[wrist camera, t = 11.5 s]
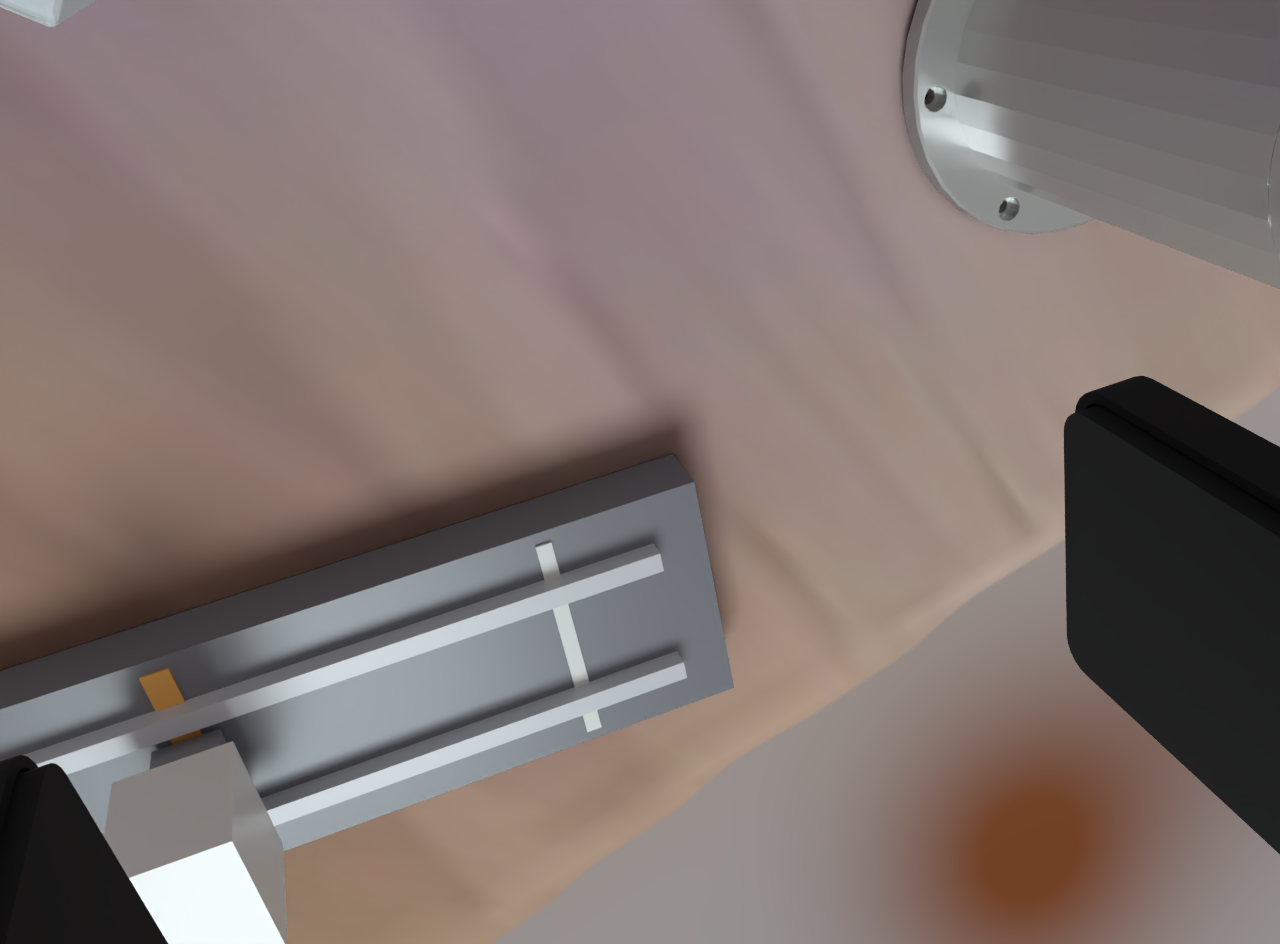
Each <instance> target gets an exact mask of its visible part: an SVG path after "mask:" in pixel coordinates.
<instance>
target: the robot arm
mask: <svg viewBox="0 0 1280 944" xmlns="http://www.w3.org/2000/svg"><path fill="white" fill-rule="evenodd" d="M902 79H903V109H904V114H905V119H906V124H907V128H908V133H909V138H910V142H911V144H912V146H913V149H914V151H915V153H916V156H917V158H918V161H919V163H920V165H921V168H922V169H923V171H924V172H925V174H926V175H927V177H928V178H929V179H930V181H931V182H932V184H933V185H934V187H935V188H936V189H937V191H938V192H939V193H940V194H941V195H942V196H943V197H945V198H946V199H947V200H948V201H949V202H950V203H951V204H952V205H954V206H955V207H956V208H957V209H958V210H960V211H962V212H964V213H966V214H967V215H969V216H971V217H973V218H975V219H977V220H979V221H981V222H983V223H985V224H988V225H990V226H993V227H995V228H998V229H1001V230H1004V231H1011V232H1019V233H1026V234H1038V233H1048V232H1058V231H1062V230H1065V229H1068V228H1071V227H1075V226H1078V225H1081V224H1084V223H1087V222H1089V221H1091V220H1093V219H1098V220H1100V221H1103V222H1106V223H1108V224H1111V225H1113V226H1116V227H1119V228H1121V229H1124V230H1127V231H1129V232H1132V233H1134V234H1137V235H1140V236H1142V237H1145V238H1147V239H1150V240H1153V241H1155V242H1158V243H1161V244H1163V245H1166V246H1168V247H1171V248H1174V249H1176V250H1179V251H1181V252H1184V253H1187V254H1189V255H1192V256H1194V257H1197V258H1200V259H1202V260H1205V261H1208V262H1210V263H1213V264H1215V265H1218V266H1221V267H1223V268H1226V269H1228V270H1231V271H1234V272H1236V273H1239V274H1242V275H1244V276H1247V277H1249V278H1252V279H1255V280H1257V281H1260V282H1262V283H1265V284H1268V285H1270V286H1273V287H1276V288H1278V289H1280V0H918V3H917V6H916V10H915V13H914V17H913V20H912V23H911V27H910V30H909V34H908V37H907V43H906V51H905V58H904V66H903V73H902ZM927 92H928V97H927V99H926V100H925V95H926V93H927ZM924 100H925V101H924ZM1064 472H1065V540H1066V602H1067V603H1066V608H1067V639H1068V644H1069V647H1070V651H1071V653H1072V655H1073V657H1074V659H1075V661H1076V663H1077V664H1078V666H1079V667H1080V669H1081V670H1082V671H1083V672H1084V673H1085V674H1086V675H1087V676H1088V677H1089V678H1090V679H1091V680H1092V681H1093V682H1095V683H1096V684H1097V685H1098V686H1099V687H1100V688H1101V689H1102V690H1103V691H1104V692H1105V693H1106V694H1107V695H1109V696H1110V697H1111V698H1112V699H1113V700H1114V701H1115V702H1116V703H1117V704H1118V705H1119V706H1120V707H1122V708H1123V709H1124V710H1125V711H1126V712H1127V713H1128V714H1129V715H1130V716H1131V717H1132V718H1133V719H1134V720H1136V721H1137V722H1138V723H1139V724H1140V725H1141V726H1142V727H1143V728H1144V729H1145V730H1146V731H1147V732H1149V733H1150V734H1151V735H1152V736H1153V737H1154V738H1155V739H1156V740H1157V741H1158V742H1159V743H1160V744H1161V745H1162V746H1164V747H1165V748H1166V749H1167V750H1168V751H1169V752H1170V753H1171V754H1172V755H1173V756H1174V757H1176V759H1178V760H1179V761H1180V762H1181V763H1182V764H1183V765H1184V766H1185V767H1186V768H1187V769H1188V770H1189V771H1191V772H1192V773H1193V774H1194V775H1195V776H1196V777H1197V778H1198V779H1199V780H1200V781H1201V782H1202V783H1204V784H1205V785H1206V786H1207V787H1208V788H1209V789H1210V790H1211V791H1212V792H1213V793H1214V794H1215V795H1216V796H1218V797H1219V798H1220V799H1221V800H1222V801H1223V802H1224V803H1225V804H1226V805H1227V806H1228V807H1229V808H1231V809H1232V810H1233V811H1234V812H1235V813H1236V814H1237V815H1238V816H1239V817H1240V818H1241V819H1242V820H1243V821H1244V822H1246V823H1247V824H1248V825H1249V826H1250V827H1251V828H1252V829H1253V830H1254V831H1255V832H1256V833H1258V834H1259V835H1260V836H1261V837H1262V838H1263V839H1264V840H1265V841H1266V842H1267V843H1268V844H1269V845H1270V846H1271V847H1273V848H1274V849H1275V850H1276V851H1277V852H1278V853H1279V854H1280V447H1279V446H1277V445H1275V444H1273V443H1271V442H1269V441H1267V440H1266V439H1264V438H1262V437H1260V436H1258V435H1256V434H1254V433H1253V432H1251V431H1249V430H1247V429H1245V428H1243V427H1241V426H1239V425H1238V424H1236V423H1234V422H1232V421H1230V420H1228V419H1226V418H1224V417H1223V416H1221V415H1219V414H1217V413H1215V412H1213V411H1211V410H1209V409H1208V408H1206V407H1204V406H1202V405H1200V404H1198V403H1196V402H1194V401H1193V400H1191V399H1189V398H1187V397H1185V396H1183V395H1181V394H1179V393H1178V392H1176V391H1174V390H1172V389H1170V388H1168V387H1166V386H1164V385H1163V384H1161V383H1159V382H1157V381H1155V380H1153V379H1151V378H1148V377H1145V376H1137V377H1132V378H1130V379H1127V380H1124V381H1121V382H1118V383H1115V384H1112V385H1109V386H1106V387H1103V388H1100V389H1097V390H1094V391H1091V392H1088V393H1086V394H1084V395H1083V396H1082V397H1081V398H1080V399H1079V401H1078V403H1077V405H1076V410H1075V413H1073V414H1071V415H1070V416H1069V417H1068V418H1067V420H1066V422H1065V426H1064ZM0 944H168V942H167V941H166V939H165V937H164V936H163V934H162V932H161V931H160V929H159V927H158V926H157V924H156V922H155V921H154V919H153V917H152V916H151V914H150V912H149V911H148V909H147V907H146V906H145V904H144V902H143V901H142V899H141V898H140V896H139V894H138V893H137V891H136V889H135V888H134V886H133V884H132V883H131V881H130V879H129V878H128V876H127V874H126V873H125V871H124V869H123V868H122V866H121V864H120V863H119V861H118V859H117V858H116V856H115V854H114V853H113V851H112V849H111V848H110V846H109V844H108V843H107V841H106V839H105V838H104V836H103V834H102V833H101V831H100V829H99V828H98V826H97V824H96V823H95V821H94V819H93V818H92V816H91V814H90V813H89V811H88V809H87V808H86V806H85V804H84V803H83V801H82V799H81V798H80V796H79V794H78V793H77V791H76V789H75V788H74V786H73V784H72V783H71V781H70V779H69V778H68V776H67V775H66V773H65V772H64V771H63V769H62V768H61V767H60V766H58V765H57V764H55V763H49V764H47V765H44V766H41V767H38V766H37V765H36V763H35V762H34V761H33V760H31V759H30V758H29V757H27V756H23V755H18V756H15V757H12V758H9V759H6V760H3V761H0Z"/></svg>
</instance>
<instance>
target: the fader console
mask: <svg viewBox="0 0 1280 944" xmlns="http://www.w3.org/2000/svg"><path fill="white" fill-rule="evenodd" d="M731 688H734V685H733V680H732V675H731V669H730V664H729V659H728V654H727V649H726V643H725V638H724V633H723V628H722V623H721V618H720V612H719V607H718V602H717V597H716V592H715V586H714V581H713V576H712V571H711V566H710V560H709V555H708V550H707V545H706V540H705V535H704V529H703V524H702V519H701V514H700V509H699V503H698V498H697V493H696V488H695V483H694V481H693V479H692V478H691V477H690V475H689V474H688V473H687V472H686V470H685V469H684V468H683V466H682V465H681V464H680V463H679V461H678V460H677V459H676V457H675V456H674V455H673V454H671V455H668V456H664V457H661V458H658V459H655V460H652V461H649V462H646V463H643V464H640V465H637V466H633V467H630V468H627V469H624V470H621V471H618V472H615V473H612V474H609V475H606V476H602V477H599V478H596V479H593V480H590V481H587V482H584V483H581V484H578V485H575V486H571V487H568V488H565V489H562V490H559V491H556V492H553V493H550V494H547V495H544V496H541V497H537V498H534V499H531V500H528V501H525V502H522V503H519V504H516V505H513V506H510V507H506V508H503V509H500V510H497V511H494V512H491V513H488V514H485V515H482V516H479V517H475V518H472V519H469V520H466V521H463V522H460V523H457V524H454V525H451V526H448V527H444V528H441V529H438V530H435V531H432V532H429V533H426V534H423V535H420V536H417V537H413V538H410V539H407V540H404V541H401V542H398V543H395V544H392V545H389V546H386V547H383V548H379V549H376V550H373V551H370V552H367V553H364V554H361V555H358V556H355V557H352V558H348V559H345V560H342V561H339V562H336V563H333V564H330V565H327V566H324V567H321V568H317V569H314V570H311V571H308V572H305V573H302V574H299V575H296V576H293V577H290V578H286V579H283V580H280V581H277V582H274V583H271V584H268V585H265V586H262V587H259V588H256V589H252V590H249V591H246V592H243V593H240V594H237V595H234V596H231V597H228V598H225V599H221V600H218V601H215V602H212V603H209V604H206V605H203V606H200V607H197V608H194V609H190V610H187V611H184V612H181V613H178V614H175V615H172V616H169V617H166V618H163V619H159V620H156V621H153V622H150V623H147V624H144V625H141V626H138V627H135V628H132V629H129V630H125V631H122V632H119V633H116V634H113V635H110V636H107V637H104V638H101V639H98V640H94V641H91V642H88V643H85V644H82V645H79V646H76V647H73V648H70V649H67V650H63V651H60V652H57V653H54V654H51V655H48V656H45V657H42V658H39V659H36V660H32V661H29V662H26V663H23V664H20V665H17V666H14V667H11V668H8V669H5V670H2V671H0V761H3V760H6V759H9V758H12V757H15V756H18V755H23V756H27V757H29V758H30V759H31V760H33V761H34V762H35V763H36V765H37V766H38V767H41V766H44V765H47V764H49V763H55V764H57V765H58V766H60V767H61V768H62V769H63V771H64V772H65V773H66V775H67V776H68V778H69V779H70V781H71V783H72V784H73V786H74V788H75V789H76V791H77V793H78V794H79V796H80V798H81V799H82V801H83V803H84V804H85V806H86V808H87V809H88V811H89V813H90V814H91V816H92V818H93V819H94V821H95V823H96V824H97V826H98V828H99V829H100V831H101V833H102V834H103V836H104V832H105V825H106V819H107V812H108V805H109V798H110V791H111V784H112V782H115V781H118V780H121V779H124V778H127V777H130V776H133V775H136V774H139V773H142V772H144V771H147V770H150V761H151V752H153V751H156V750H159V749H162V748H165V747H168V746H171V745H174V744H177V743H180V742H182V741H185V740H188V739H191V738H194V737H197V736H200V735H203V734H206V733H209V732H212V731H215V730H218V729H220V730H221V732H222V734H223V736H224V738H225V740H226V742H227V743H229V742H232V741H233V742H234V744H235V746H236V748H237V751H238V753H239V755H240V757H241V759H242V761H243V763H244V765H245V767H246V769H247V771H248V773H249V775H250V777H251V779H252V781H253V783H254V786H255V788H256V790H257V792H258V794H259V796H260V798H261V800H262V802H263V804H264V806H265V808H266V810H267V812H268V814H269V816H270V819H271V821H272V823H273V825H274V827H275V829H276V831H277V833H278V835H279V837H280V839H281V841H282V843H283V851H286V850H289V849H291V848H294V847H297V846H300V845H302V844H305V843H308V842H311V841H313V840H316V839H319V838H322V837H324V836H327V835H330V834H333V833H335V832H338V831H341V830H344V829H346V828H349V827H352V826H355V825H357V824H360V823H363V822H366V821H368V820H371V819H374V818H377V817H379V816H382V815H385V814H388V813H390V812H393V811H396V810H399V809H401V808H404V807H407V806H410V805H412V804H415V803H418V802H421V801H423V800H426V799H429V798H432V797H434V796H437V795H440V794H443V793H445V792H448V791H451V790H454V789H456V788H459V787H462V786H465V785H467V784H470V783H473V782H476V781H478V780H481V779H484V778H487V777H489V776H492V775H495V774H498V773H500V772H503V771H506V770H509V769H511V768H514V767H517V766H520V765H522V764H525V763H528V762H531V761H533V760H536V759H539V758H542V757H544V756H547V755H550V754H553V753H555V752H558V751H561V750H564V749H566V748H569V747H572V746H575V745H577V744H580V743H583V742H586V741H588V740H591V739H594V738H597V737H599V736H602V735H605V734H608V733H610V732H613V731H616V730H619V729H621V728H624V727H627V726H630V725H632V724H635V723H638V722H641V721H643V720H646V719H649V718H652V717H654V716H657V715H660V714H663V713H665V712H668V711H671V710H674V709H676V708H679V707H682V706H685V705H687V704H690V703H693V702H696V701H698V700H701V699H704V698H707V697H709V696H712V695H715V694H718V693H720V692H723V691H726V690H729V689H731Z"/></svg>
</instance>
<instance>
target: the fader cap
mask: <svg viewBox="0 0 1280 944" xmlns="http://www.w3.org/2000/svg"><path fill="white" fill-rule="evenodd" d="M104 838H105V839H106V841H107V843H108V844H109V846H110V848H111V849H112V851H113V853H114V854H115V856H116V858H117V859H118V861H119V863H120V864H121V866H122V868H123V869H124V871H125V873H126V874H127V876H128V878H129V879H130V881H131V883H132V884H133V886H134V888H135V889H136V891H137V893H138V894H139V896H140V898H141V899H142V901H143V902H144V904H145V906H146V907H147V909H148V911H149V912H150V914H151V916H152V917H153V919H154V921H155V922H156V924H157V926H158V927H159V929H160V931H161V932H162V934H163V936H164V937H165V939H166V941H167V942H168V944H288V941H287V919H286V896H285V874H284V852H283V843H282V841H281V839H280V837H279V835H278V833H277V831H276V829H275V827H274V825H273V823H272V821H271V819H270V816H269V814H268V812H267V810H266V808H265V806H264V804H263V802H262V800H261V798H260V796H259V794H258V792H257V790H256V788H255V786H254V783H253V781H252V779H251V777H250V775H249V773H248V771H247V769H246V767H245V765H244V763H243V761H242V759H241V757H240V755H239V753H238V751H237V748H236V746H235V744H234V742H233V741H232V742H229V743H227V742H226V740H225V738H224V736H223V734H222V732H221V730H220V729H218V730H215V731H212V732H209V733H206V734H203V735H200V736H197V737H194V738H191V739H188V740H185V741H182V742H180V743H177V744H174V745H171V746H168V747H165V748H162V749H159V750H156V751H153V752H151V761H150V770H147V771H144V772H142V773H139V774H136V775H133V776H130V777H127V778H124V779H121V780H118V781H115V782H112V784H111V791H110V798H109V805H108V812H107V819H106V825H105V832H104Z"/></svg>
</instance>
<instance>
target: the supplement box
mask: <svg viewBox="0 0 1280 944" xmlns="http://www.w3.org/2000/svg"><path fill="white" fill-rule="evenodd" d="M94 1H96V0H0V7H1V8H4V9H6V10H9V11H11V12H14V13H16V14H19V15H21V16H23V17H26V18H28V19H31V20H33V21H35V22H38V23H40V24H43V25H45V26H47V27H54V26H56V25H58V24H60V23H61V22H63V21H64V20H66V19H67V18H69V17H71V16H72V15H74V14H75V13H77V12H78V11H80V10H81V9H83V8H85V7H86V6H88V5H89V4H91V3H93V2H94Z"/></svg>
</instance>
